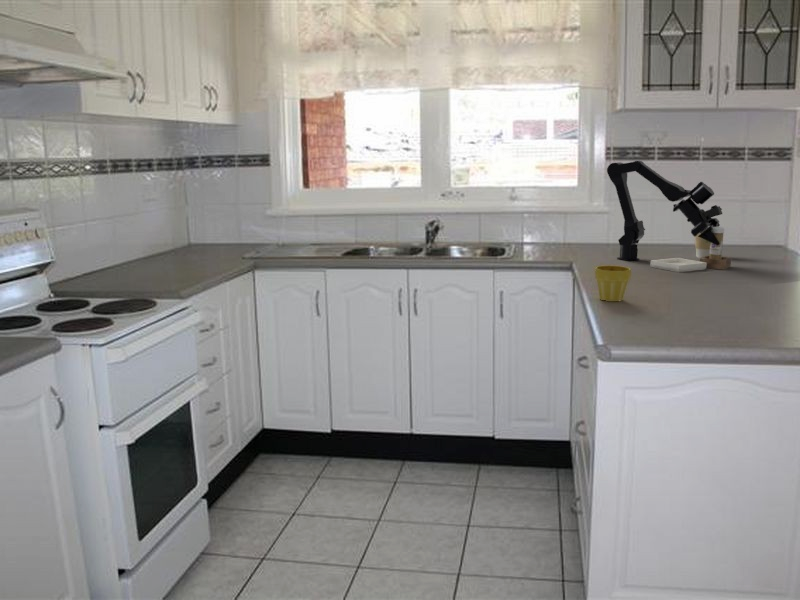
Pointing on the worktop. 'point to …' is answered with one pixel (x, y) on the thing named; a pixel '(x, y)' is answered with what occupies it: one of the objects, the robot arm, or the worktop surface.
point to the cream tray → (678, 264)
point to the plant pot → (612, 281)
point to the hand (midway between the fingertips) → (720, 244)
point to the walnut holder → (717, 262)
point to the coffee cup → (702, 246)
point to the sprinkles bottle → (717, 249)
